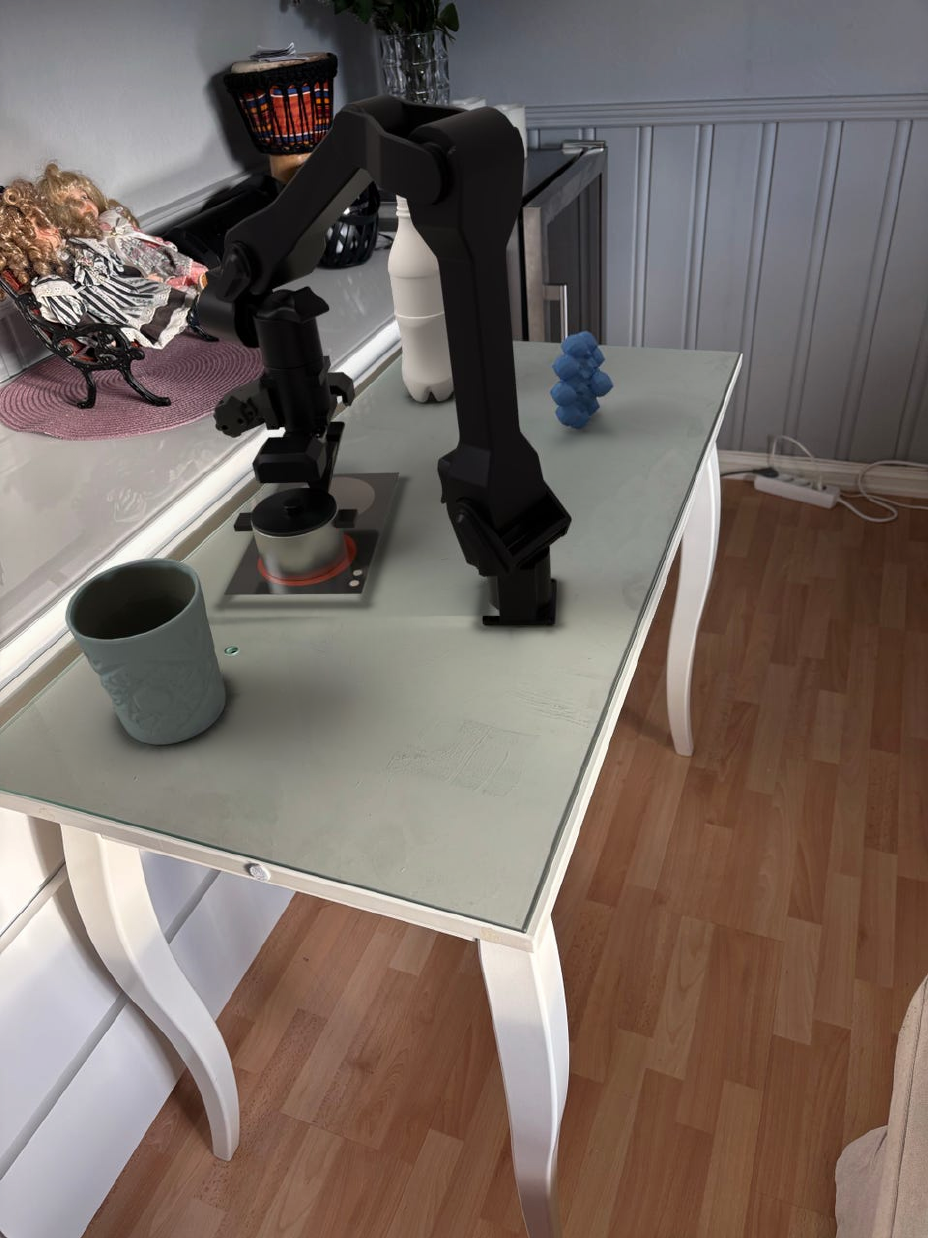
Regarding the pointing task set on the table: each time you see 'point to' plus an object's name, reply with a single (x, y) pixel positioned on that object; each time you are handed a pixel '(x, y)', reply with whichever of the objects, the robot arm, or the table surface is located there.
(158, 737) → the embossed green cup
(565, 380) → the grapes
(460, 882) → the table surface
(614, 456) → the table surface
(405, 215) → the water bottle
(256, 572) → the hob
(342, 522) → the pot
